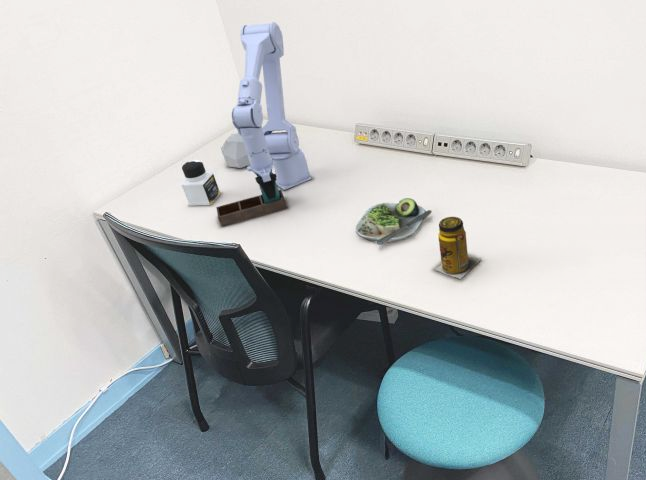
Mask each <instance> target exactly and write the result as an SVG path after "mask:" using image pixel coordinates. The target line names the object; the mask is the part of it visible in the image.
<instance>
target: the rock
mask: <svg viewBox="0 0 646 480" xmlns="http://www.w3.org/2000/svg"><path fill="white" fill-rule="evenodd" d="M220 150H221V154H222V156H223V158H224V160H225V163H226V164H227V167H231V168H238V169H241V168H244V167H248V166H251V164H250V161H249V158H248V155H247V152H246V148H245V145H244V142H243V139H242V136H241V135H239V133H238V132H236V133H231V134H230V135H229V136H228V137H227V138H226V139H225V141H224V143H223V144H222V145H221V147H220Z"/></svg>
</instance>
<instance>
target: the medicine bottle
mask: <svg viewBox="0 0 646 480" xmlns="http://www.w3.org/2000/svg"><path fill="white" fill-rule="evenodd" d="M181 170H182V172H183V175H184V178H185V180H184V181H183V182H182V183H181V187H182V190H183V192H184V196H185V198H186V201H187V203H188V205H189V206H190V207H191V206H192V207H193V206H212V204H213V203H214V202H215V201H216V200H217V198H218V197H219V196H220V194H221V191H220V188H219V186H218V183H217V180H216V177H215V175H214V172H207V170H206V168H205V165H204V162H203V161H202V160H199V159H192V160H189V161H186V162H185V163H183V164H182V165H181Z"/></svg>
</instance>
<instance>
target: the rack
mask: <svg viewBox="0 0 646 480" xmlns="http://www.w3.org/2000/svg"><path fill="white" fill-rule="evenodd" d="M282 190H283V189H278V191H279V194H280V198H281V200H277V201H274V202H270V203H266V204H265V202H264V199H263V196H262V194H259V195H256V196H252V197H247V198H245V199H240V200H237V201H233V202H229V203H226V204H223V205H219V206H216V207H215V208H216V213H217V218H218V222H219V224H220V227H222V228H223V227H226V226H229V225H230V226H231V225H233V224H236V223H240V222H245V221H248V220H251V219H254V218H258V217H262V216H265V215H269V214H273V213H276V212H280V211H284V210H286V209H288V205H287V202H286V198H285V195H284V192H283V191H282Z"/></svg>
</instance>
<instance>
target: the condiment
mask: <svg viewBox="0 0 646 480" xmlns="http://www.w3.org/2000/svg"><path fill="white" fill-rule="evenodd" d="M464 227H465V226H464V221H463V220H462V218H460V217H457V216H447V217H444V218H442V219H441V220H440V221H439V223H438V234H437V235H438V245H439V252H440V262H441V264H440V265H438V266H437V267H436V268H434V270H433V271H437V272H438V273H442V274H445V275H447V276H450V277H453V278H456V279H459V280H462V278H464V277H465V276H466V275H467V274H469V272H470V271H471V270H472V269H473V268H474V267H475V266H477V265H478V263H479V262H480V261H482V258H478V257H475V256H472V255H469V254H468V243H467V242H468V241H467V232H466V230H465V228H464Z"/></svg>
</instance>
